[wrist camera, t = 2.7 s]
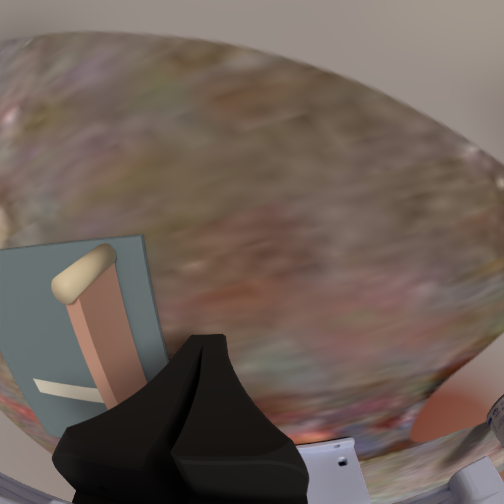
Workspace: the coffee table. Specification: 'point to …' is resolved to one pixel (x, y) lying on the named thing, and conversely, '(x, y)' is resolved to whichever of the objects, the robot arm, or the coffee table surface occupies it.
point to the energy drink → (497, 419)
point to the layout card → (69, 327)
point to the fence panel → (101, 323)
